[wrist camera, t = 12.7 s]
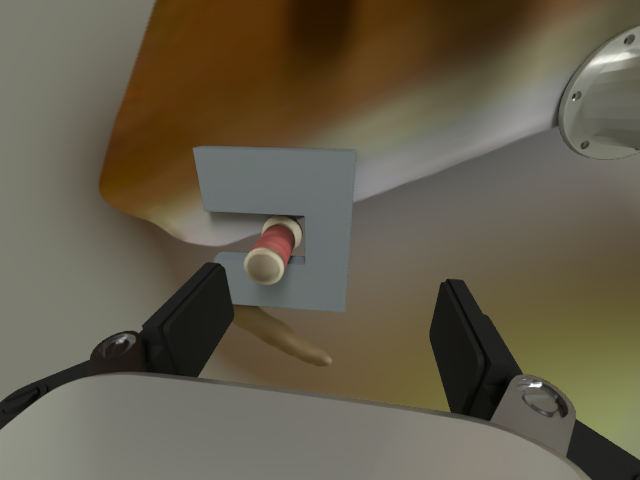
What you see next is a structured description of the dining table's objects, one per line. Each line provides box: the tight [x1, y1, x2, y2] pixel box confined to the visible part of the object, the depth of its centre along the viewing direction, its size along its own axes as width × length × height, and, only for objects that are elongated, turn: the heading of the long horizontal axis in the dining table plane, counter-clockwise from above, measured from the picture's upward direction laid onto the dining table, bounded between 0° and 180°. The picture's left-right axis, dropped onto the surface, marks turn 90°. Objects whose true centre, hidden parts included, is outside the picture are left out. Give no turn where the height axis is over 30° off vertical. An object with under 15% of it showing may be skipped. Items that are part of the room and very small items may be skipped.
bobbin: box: [244, 215, 302, 285], centre depth 35 cm, size 6×6×10 cm
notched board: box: [193, 146, 356, 313], centre depth 38 cm, size 20×24×2 cm
